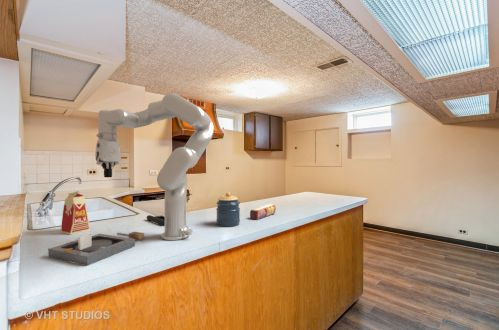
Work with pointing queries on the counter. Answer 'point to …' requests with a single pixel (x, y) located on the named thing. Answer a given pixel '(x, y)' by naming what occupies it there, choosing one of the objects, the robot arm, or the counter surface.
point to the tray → (71, 255)
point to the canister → (228, 211)
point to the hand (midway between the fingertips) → (108, 177)
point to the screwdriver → (134, 235)
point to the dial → (91, 244)
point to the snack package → (262, 211)
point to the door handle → (157, 219)
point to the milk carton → (74, 215)
